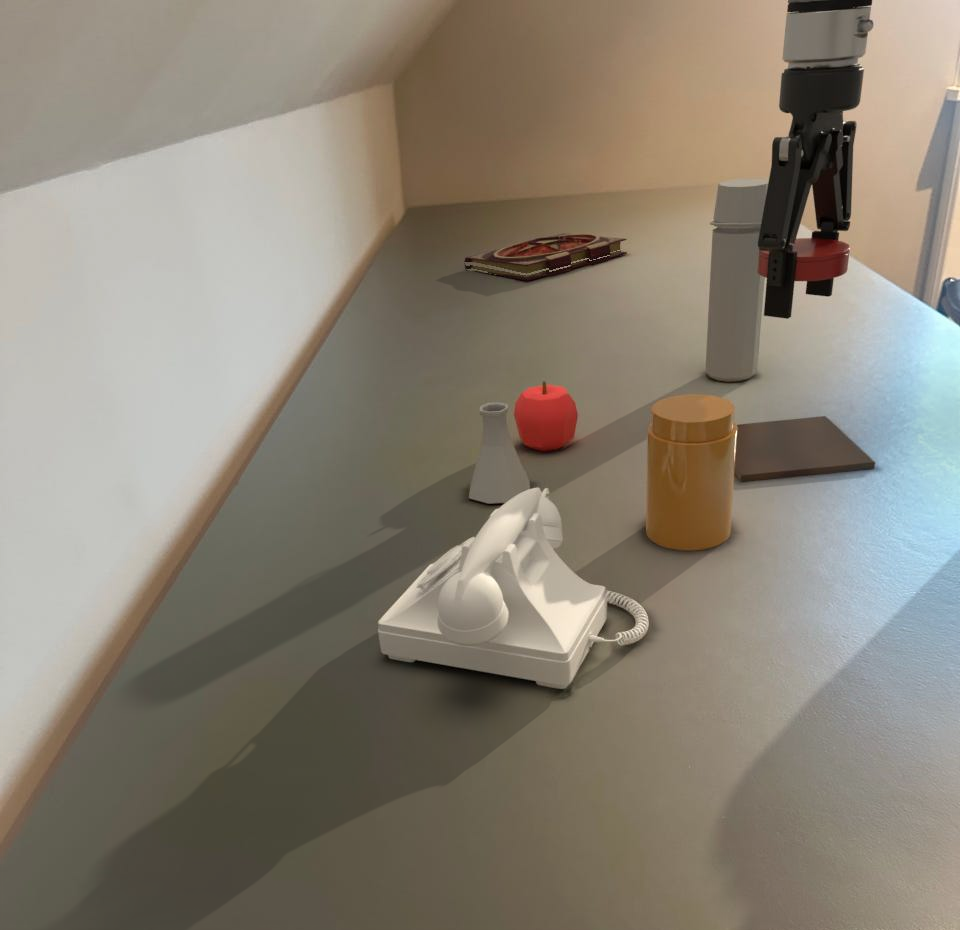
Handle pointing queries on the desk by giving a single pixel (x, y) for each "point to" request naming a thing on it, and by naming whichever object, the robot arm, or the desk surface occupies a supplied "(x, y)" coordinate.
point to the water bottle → (735, 281)
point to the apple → (545, 417)
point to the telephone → (505, 602)
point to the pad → (795, 449)
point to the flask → (497, 460)
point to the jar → (690, 471)
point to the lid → (814, 259)
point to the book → (548, 255)
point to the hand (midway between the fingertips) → (798, 305)
